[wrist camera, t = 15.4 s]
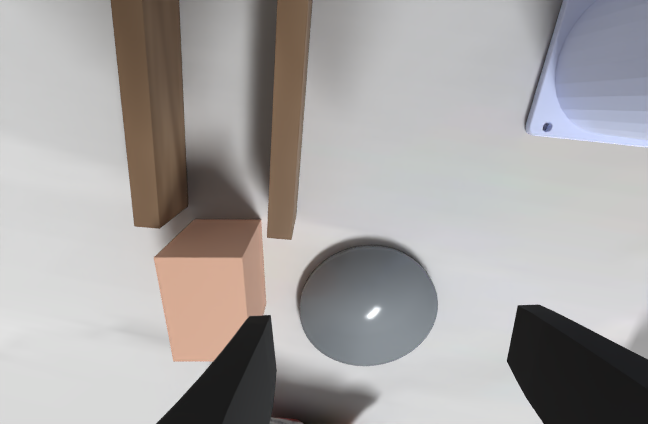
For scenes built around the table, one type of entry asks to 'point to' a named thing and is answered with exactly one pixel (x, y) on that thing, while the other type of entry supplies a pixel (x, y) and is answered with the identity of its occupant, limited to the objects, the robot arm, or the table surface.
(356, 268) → the coaster
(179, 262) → the block
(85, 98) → the table surface
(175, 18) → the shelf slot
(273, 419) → the packaged food
